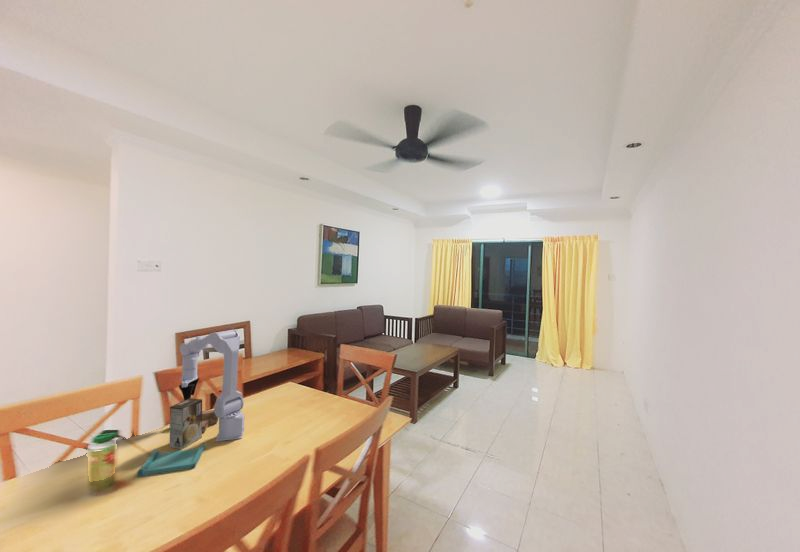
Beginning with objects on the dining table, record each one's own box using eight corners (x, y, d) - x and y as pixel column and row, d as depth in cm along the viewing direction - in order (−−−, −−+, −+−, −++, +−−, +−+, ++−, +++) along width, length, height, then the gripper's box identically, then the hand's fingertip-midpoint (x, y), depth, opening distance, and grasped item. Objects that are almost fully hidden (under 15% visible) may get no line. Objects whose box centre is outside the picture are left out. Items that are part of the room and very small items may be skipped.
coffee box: (189, 435, 128) (190, 397, 128) (202, 437, 127) (203, 399, 127) (168, 447, 119) (169, 406, 119) (182, 450, 118) (183, 408, 118)
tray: (205, 448, 120) (205, 443, 120) (194, 468, 107) (194, 463, 107) (154, 454, 115) (154, 450, 114) (137, 477, 102) (137, 472, 102)
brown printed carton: (218, 420, 141) (218, 409, 141) (212, 431, 132) (213, 419, 132) (177, 424, 136) (177, 413, 136) (168, 436, 126) (168, 424, 126)
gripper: (185, 364, 146) (184, 392, 147) (173, 373, 133) (172, 404, 133) (202, 363, 149) (201, 390, 149) (192, 372, 135) (191, 403, 135)
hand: (189, 397), depth 141 cm, fingers open, 5 cm apart
